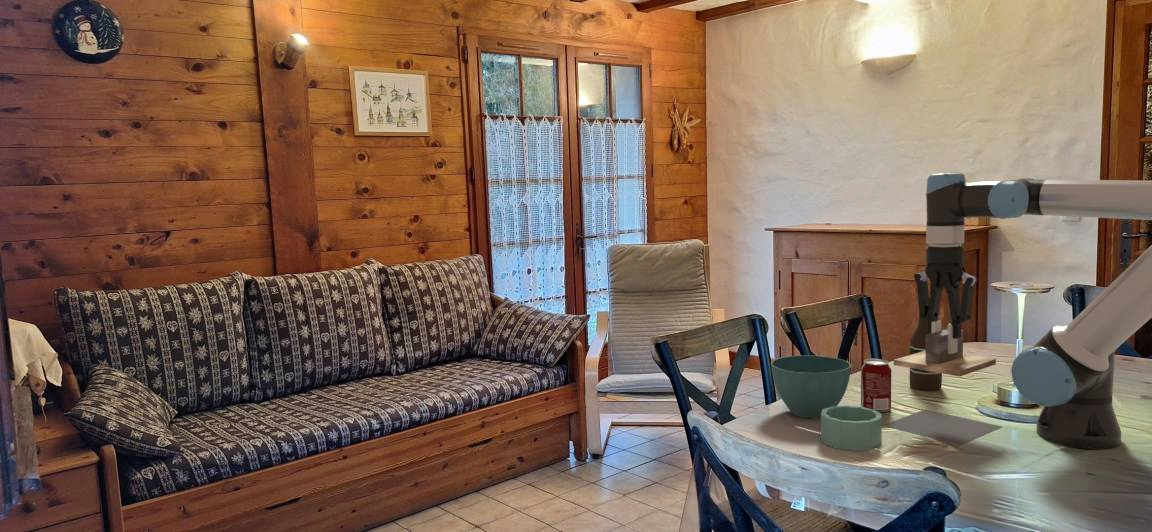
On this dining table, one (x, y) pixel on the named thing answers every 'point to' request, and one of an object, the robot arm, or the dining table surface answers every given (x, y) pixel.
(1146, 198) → the robot arm
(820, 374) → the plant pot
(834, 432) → the bowl
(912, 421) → the mat
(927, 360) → the lid
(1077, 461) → the dining table surface
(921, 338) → the beer bottle
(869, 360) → the soda can
